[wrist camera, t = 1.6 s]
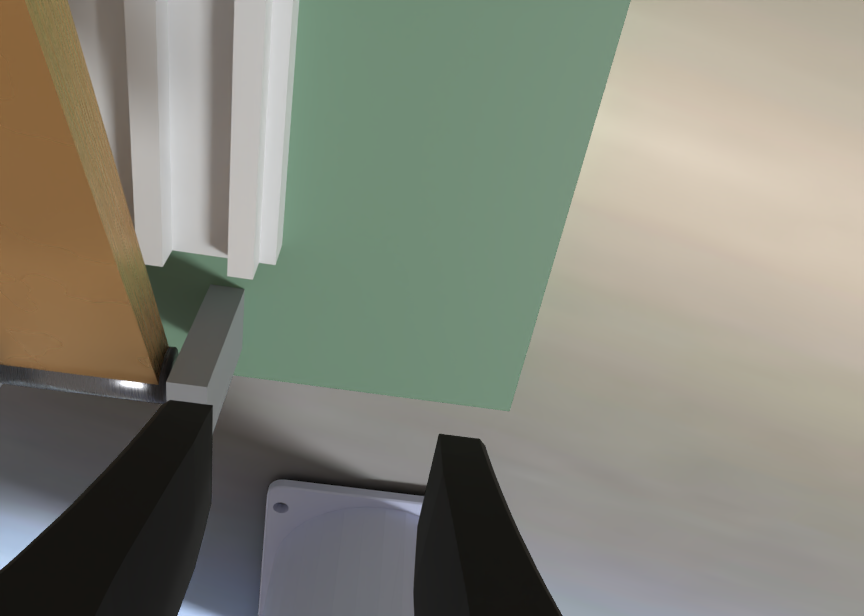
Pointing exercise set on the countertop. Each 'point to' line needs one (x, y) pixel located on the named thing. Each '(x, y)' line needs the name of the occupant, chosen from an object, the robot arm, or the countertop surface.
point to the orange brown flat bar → (67, 226)
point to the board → (349, 180)
